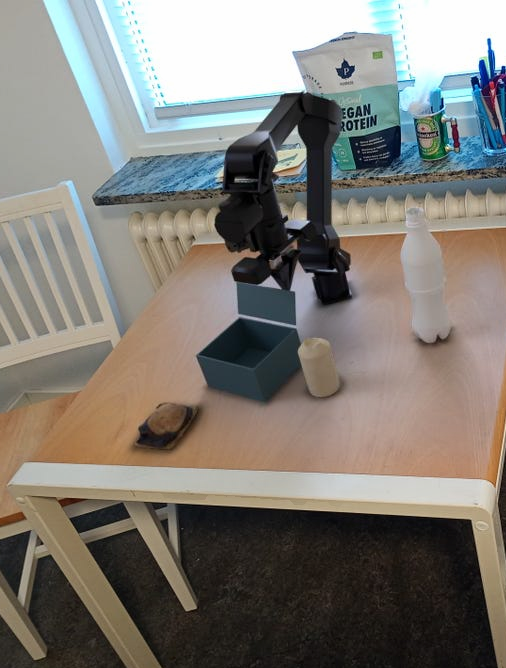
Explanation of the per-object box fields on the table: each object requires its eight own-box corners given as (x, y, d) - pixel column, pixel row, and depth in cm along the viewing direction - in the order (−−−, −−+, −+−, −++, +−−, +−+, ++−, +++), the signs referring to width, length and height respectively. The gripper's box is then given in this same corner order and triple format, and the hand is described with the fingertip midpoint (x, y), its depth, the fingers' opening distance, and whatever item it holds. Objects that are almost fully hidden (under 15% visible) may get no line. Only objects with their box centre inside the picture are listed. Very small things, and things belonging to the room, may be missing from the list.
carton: (250, 347, 142) (239, 316, 137) (305, 360, 135) (296, 328, 130) (208, 387, 134) (195, 355, 129) (265, 402, 127) (253, 370, 122)
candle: (346, 381, 127) (334, 334, 122) (328, 400, 124) (315, 353, 118) (320, 375, 130) (308, 329, 124) (303, 393, 127) (289, 347, 121)
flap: (238, 314, 137) (239, 313, 137) (294, 325, 130) (296, 324, 130) (236, 282, 135) (237, 281, 135) (293, 291, 128) (295, 291, 128)
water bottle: (456, 324, 135) (440, 200, 120) (447, 347, 130) (430, 220, 115) (419, 323, 138) (399, 201, 123) (409, 345, 132) (387, 221, 118)
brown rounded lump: (162, 406, 132) (155, 390, 129) (202, 409, 129) (195, 393, 126) (131, 447, 124) (122, 431, 122) (172, 451, 121) (165, 434, 119)
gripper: (261, 188, 136) (281, 261, 145) (195, 235, 124) (223, 312, 133) (309, 192, 130) (327, 267, 139) (245, 242, 118) (270, 321, 127)
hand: (287, 291), depth 135 cm, fingers closed
